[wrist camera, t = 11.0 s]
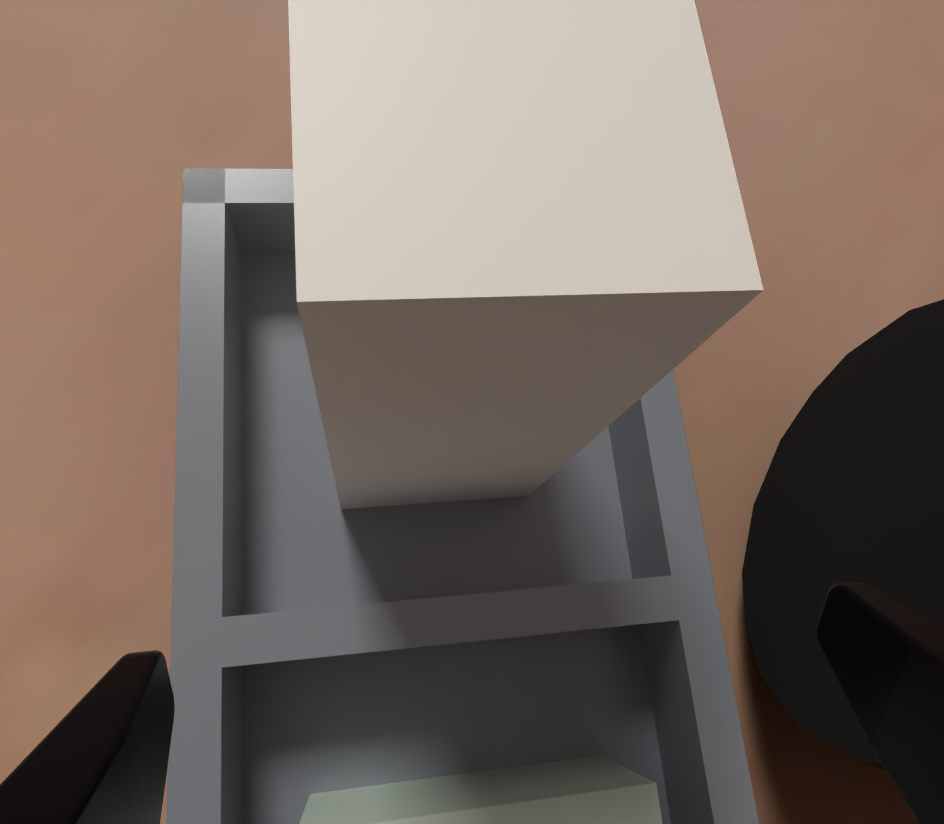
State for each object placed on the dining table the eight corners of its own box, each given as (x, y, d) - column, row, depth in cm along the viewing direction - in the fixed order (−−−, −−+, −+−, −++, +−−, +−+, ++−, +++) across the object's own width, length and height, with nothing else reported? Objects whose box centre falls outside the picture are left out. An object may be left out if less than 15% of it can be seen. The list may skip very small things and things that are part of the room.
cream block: (529, 495, 19) (763, 289, 8) (340, 509, 18) (296, 301, 7) (508, 325, 21) (680, -57, 9) (332, 331, 20) (286, -80, 8)
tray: (742, 1111, 16) (872, 1276, 12) (200, 1234, 14) (130, 1482, 10) (596, 237, 23) (648, 147, 19) (212, 242, 21) (173, 142, 17)
